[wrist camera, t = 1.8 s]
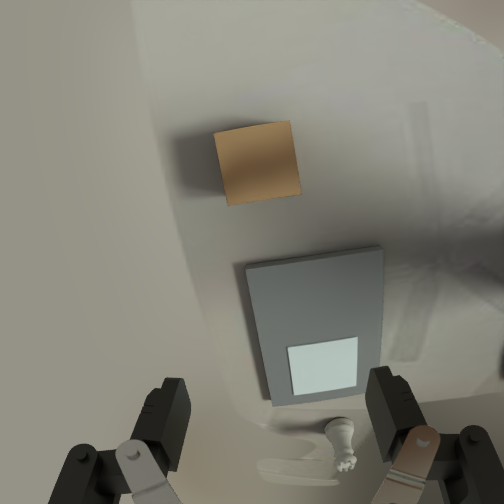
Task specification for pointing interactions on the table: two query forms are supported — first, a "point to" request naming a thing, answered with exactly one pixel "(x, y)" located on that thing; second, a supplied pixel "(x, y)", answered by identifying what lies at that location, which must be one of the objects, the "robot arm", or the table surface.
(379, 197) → the table surface
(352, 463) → the rook chess piece
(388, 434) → the robot arm
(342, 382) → the board
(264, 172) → the walnut block
